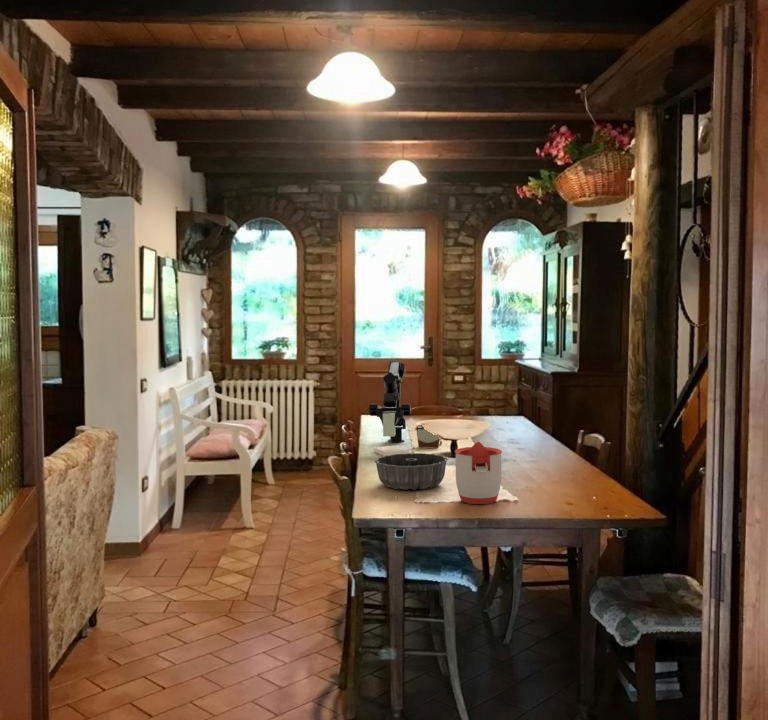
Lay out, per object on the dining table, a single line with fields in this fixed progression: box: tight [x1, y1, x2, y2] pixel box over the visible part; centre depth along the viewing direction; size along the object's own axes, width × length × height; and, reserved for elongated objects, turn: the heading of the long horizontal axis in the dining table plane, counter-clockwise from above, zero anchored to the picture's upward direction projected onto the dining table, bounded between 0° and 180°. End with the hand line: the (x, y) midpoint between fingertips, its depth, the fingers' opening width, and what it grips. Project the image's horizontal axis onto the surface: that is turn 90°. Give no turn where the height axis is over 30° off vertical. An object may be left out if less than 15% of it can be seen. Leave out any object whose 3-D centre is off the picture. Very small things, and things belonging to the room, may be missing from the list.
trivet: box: [373, 444, 410, 457], centre depth 351 cm, size 12×12×2 cm
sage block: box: [382, 412, 396, 437], centre depth 350 cm, size 5×5×10 cm
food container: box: [414, 424, 441, 447], centre depth 366 cm, size 12×6×10 cm, turn 84°
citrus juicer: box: [454, 441, 502, 505], centre depth 259 cm, size 16×17×20 cm
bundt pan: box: [374, 452, 448, 491], centre depth 285 cm, size 26×26×10 cm
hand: (388, 424), depth 348 cm, fingers closed on sage block, 5 cm apart
